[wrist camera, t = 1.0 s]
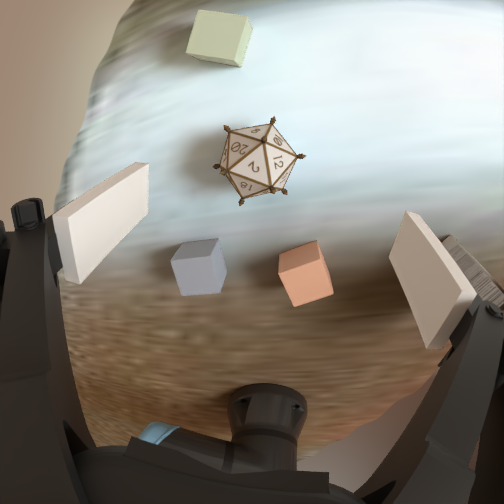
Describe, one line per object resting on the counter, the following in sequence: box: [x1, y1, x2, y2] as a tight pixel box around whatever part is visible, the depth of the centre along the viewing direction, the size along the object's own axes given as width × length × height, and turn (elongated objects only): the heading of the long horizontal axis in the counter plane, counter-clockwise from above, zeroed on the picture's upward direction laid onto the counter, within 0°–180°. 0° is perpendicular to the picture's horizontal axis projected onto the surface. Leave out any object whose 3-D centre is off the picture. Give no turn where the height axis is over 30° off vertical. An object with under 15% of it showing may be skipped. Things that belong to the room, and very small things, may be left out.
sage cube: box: [186, 10, 253, 67], centre depth 25 cm, size 5×5×5 cm
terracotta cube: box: [278, 240, 334, 307], centre depth 37 cm, size 5×5×5 cm
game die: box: [213, 116, 306, 206], centre depth 30 cm, size 9×8×10 cm
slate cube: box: [170, 238, 227, 296], centre depth 38 cm, size 5×5×5 cm
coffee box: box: [441, 235, 504, 313], centre depth 29 cm, size 9×6×16 cm
